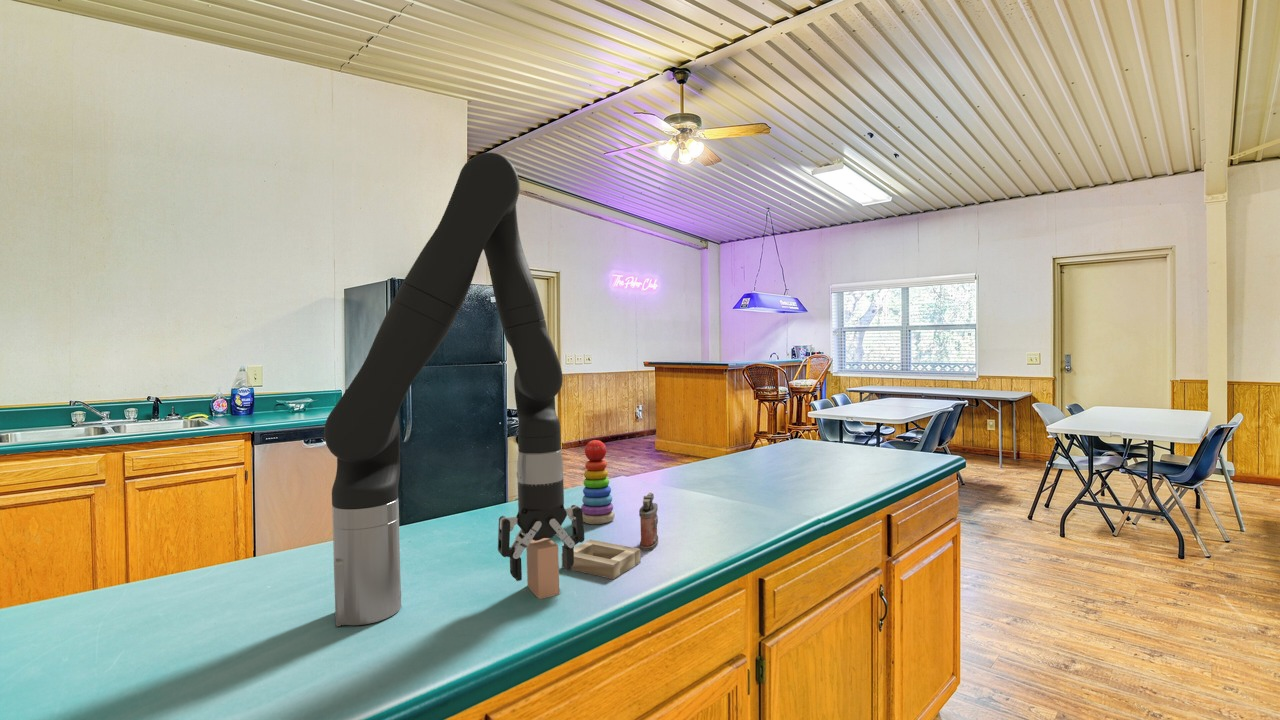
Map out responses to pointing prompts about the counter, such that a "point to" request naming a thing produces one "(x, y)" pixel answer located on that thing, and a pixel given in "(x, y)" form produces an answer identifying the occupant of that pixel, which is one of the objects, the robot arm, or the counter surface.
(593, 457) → the stacking toy
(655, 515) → the lighter
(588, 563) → the frame
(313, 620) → the counter surface
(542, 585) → the key block
